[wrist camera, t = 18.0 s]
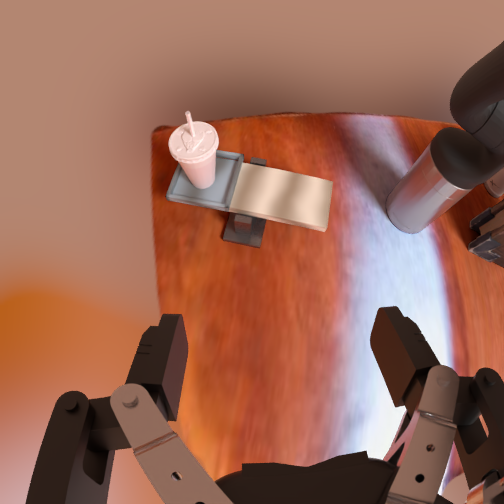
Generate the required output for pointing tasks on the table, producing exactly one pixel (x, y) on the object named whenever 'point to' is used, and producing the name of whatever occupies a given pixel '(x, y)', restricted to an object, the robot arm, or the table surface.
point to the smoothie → (195, 151)
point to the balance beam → (258, 192)
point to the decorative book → (489, 234)
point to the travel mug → (496, 184)
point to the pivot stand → (245, 224)
